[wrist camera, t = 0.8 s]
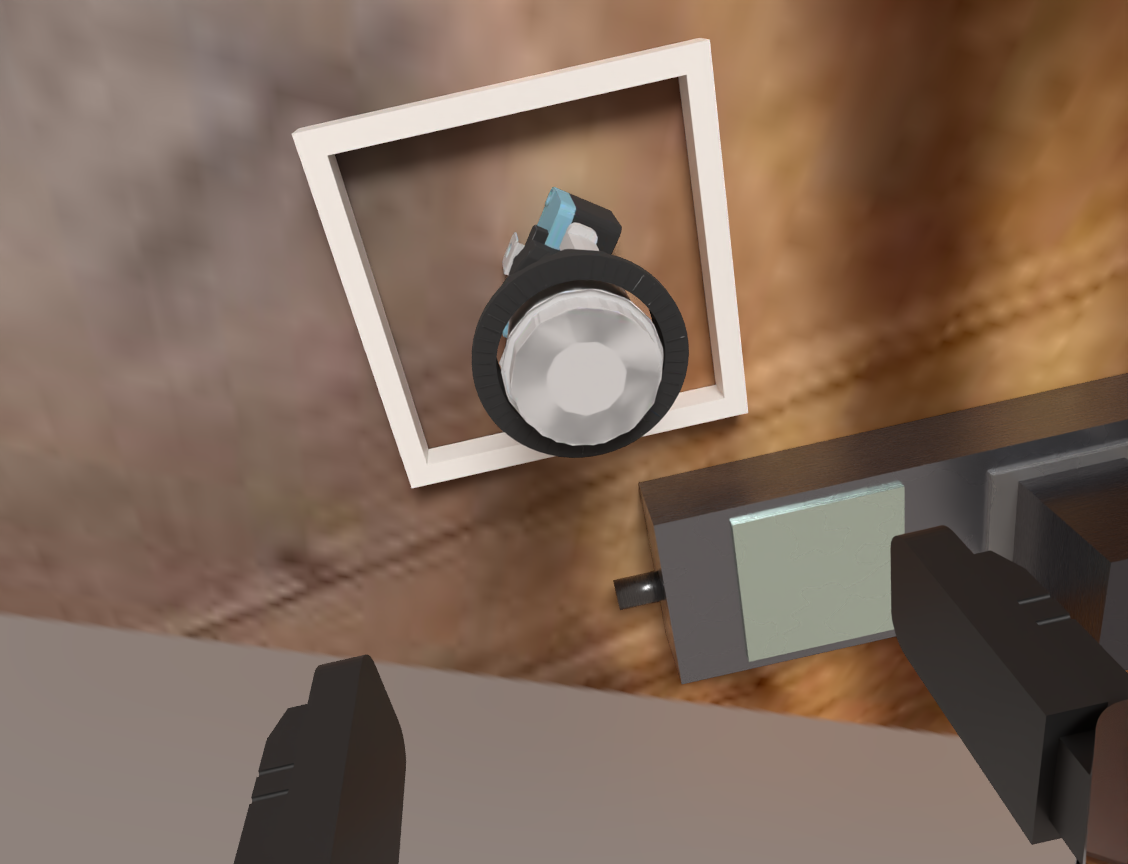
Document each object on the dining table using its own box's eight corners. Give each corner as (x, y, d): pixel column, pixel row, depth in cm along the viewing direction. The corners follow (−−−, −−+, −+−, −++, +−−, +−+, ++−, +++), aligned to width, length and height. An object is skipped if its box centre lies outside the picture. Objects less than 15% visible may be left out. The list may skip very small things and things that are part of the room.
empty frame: (699, 37, 26) (709, 39, 24) (738, 398, 32) (748, 412, 30) (299, 128, 26) (291, 134, 25) (413, 471, 32) (411, 488, 30)
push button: (573, 385, 31) (616, 543, 22) (434, 336, 29) (421, 484, 20) (652, 216, 28) (738, 317, 19) (504, 152, 27) (524, 231, 18)
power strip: (1259, 343, 33) (1483, 442, 26) (1222, 509, 37) (1408, 636, 29) (593, 492, 33) (629, 633, 26) (626, 643, 37) (665, 803, 29)
